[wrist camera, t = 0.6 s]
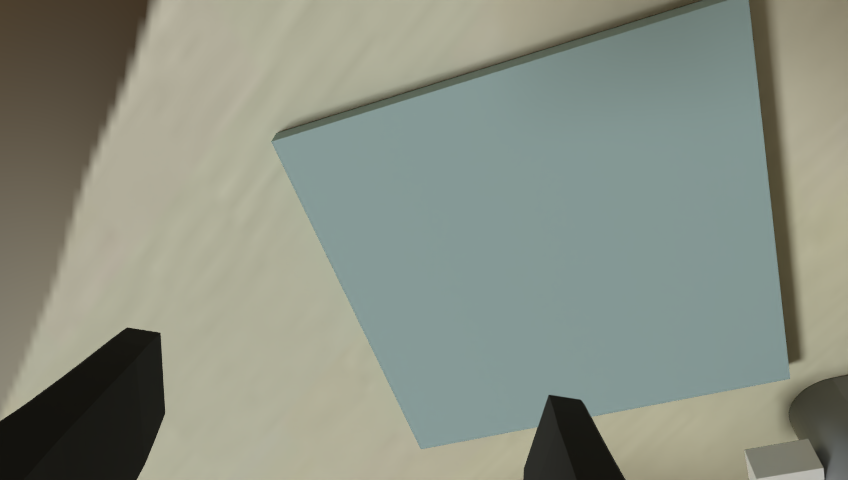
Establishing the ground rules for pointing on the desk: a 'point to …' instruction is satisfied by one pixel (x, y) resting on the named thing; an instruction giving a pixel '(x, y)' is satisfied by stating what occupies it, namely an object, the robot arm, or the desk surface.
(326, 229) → the mat
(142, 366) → the robot arm
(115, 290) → the desk surface
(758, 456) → the plug
